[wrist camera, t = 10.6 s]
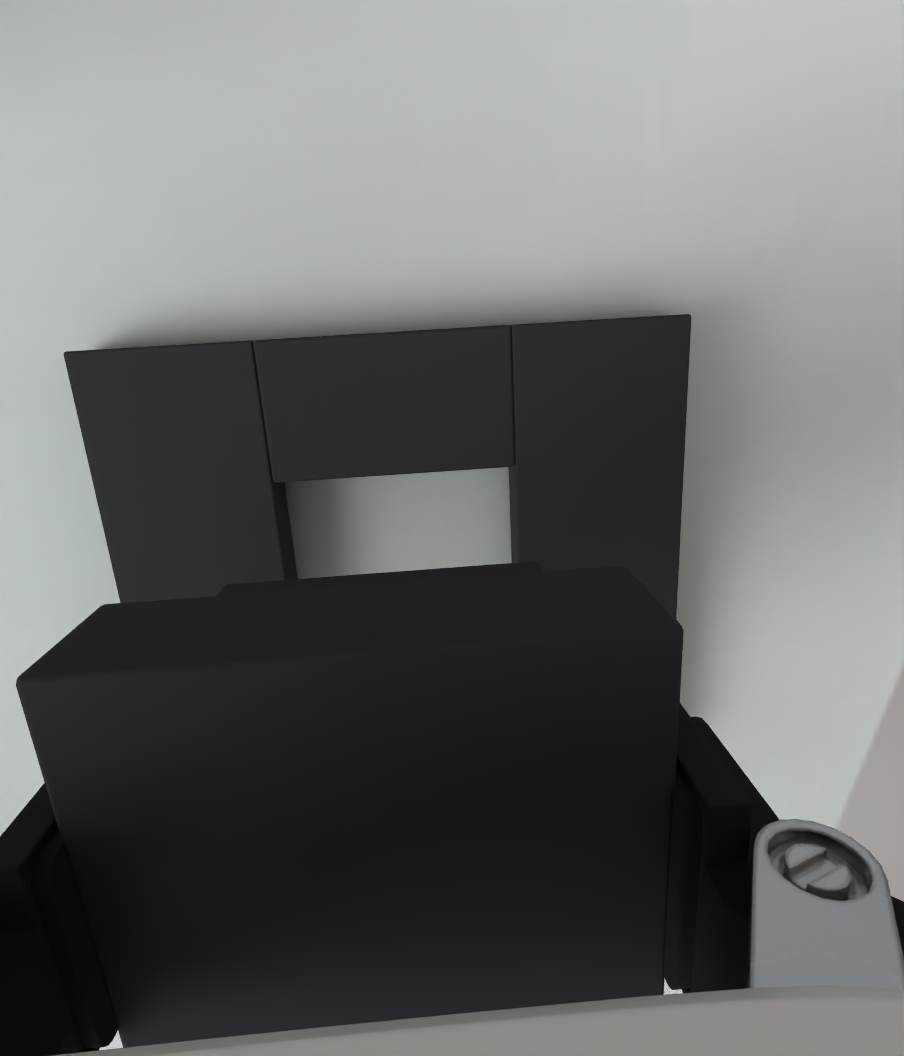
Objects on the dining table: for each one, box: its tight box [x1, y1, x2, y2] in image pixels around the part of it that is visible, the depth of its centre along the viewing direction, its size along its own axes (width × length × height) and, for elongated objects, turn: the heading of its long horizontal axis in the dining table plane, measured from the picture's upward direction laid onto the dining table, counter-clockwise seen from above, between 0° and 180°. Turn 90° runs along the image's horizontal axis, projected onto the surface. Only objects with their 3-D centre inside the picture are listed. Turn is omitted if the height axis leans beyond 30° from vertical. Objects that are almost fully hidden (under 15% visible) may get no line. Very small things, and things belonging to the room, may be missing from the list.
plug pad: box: [16, 562, 683, 1048], centre depth 10 cm, size 7×7×4 cm
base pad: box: [64, 314, 691, 619], centre depth 19 cm, size 16×14×2 cm
